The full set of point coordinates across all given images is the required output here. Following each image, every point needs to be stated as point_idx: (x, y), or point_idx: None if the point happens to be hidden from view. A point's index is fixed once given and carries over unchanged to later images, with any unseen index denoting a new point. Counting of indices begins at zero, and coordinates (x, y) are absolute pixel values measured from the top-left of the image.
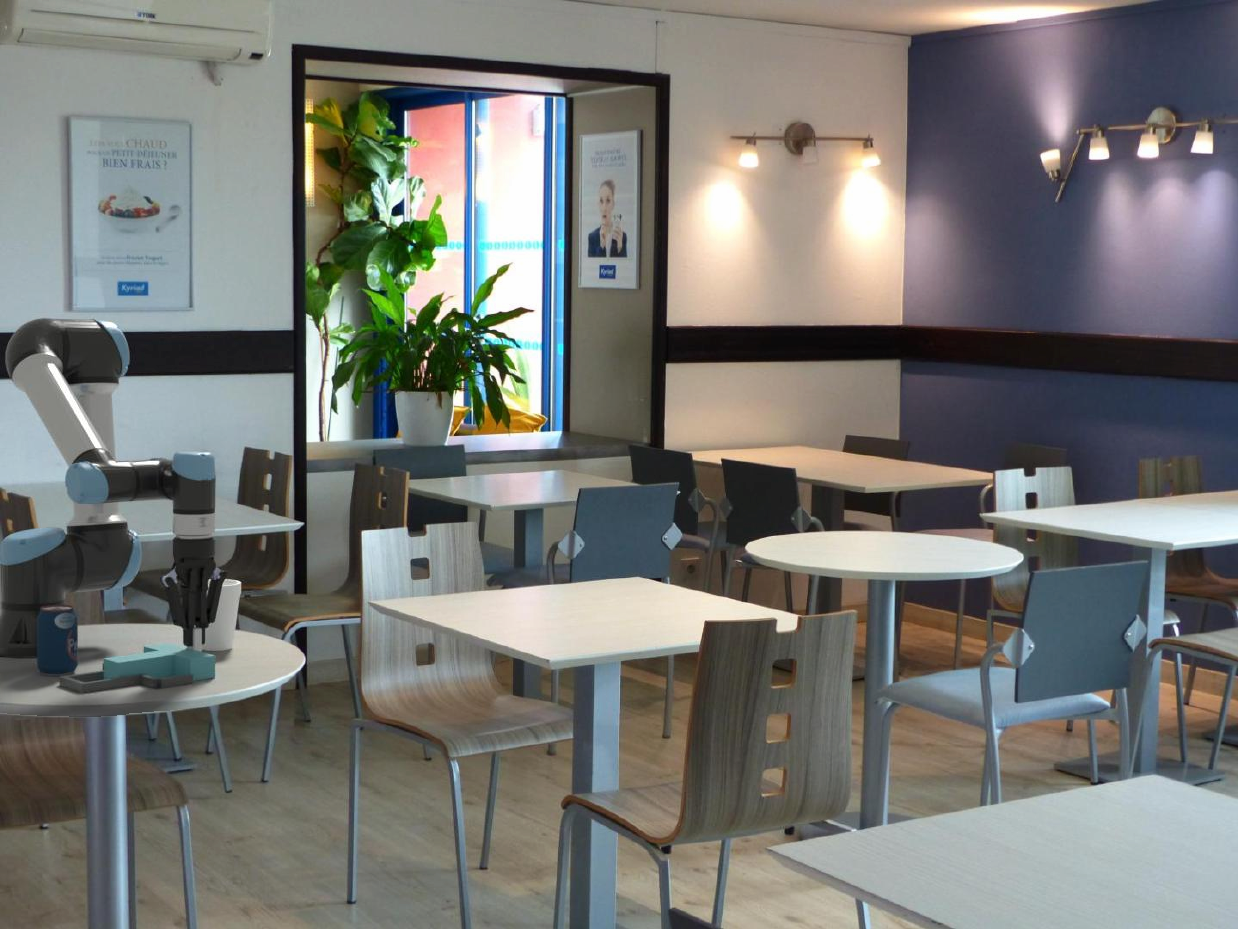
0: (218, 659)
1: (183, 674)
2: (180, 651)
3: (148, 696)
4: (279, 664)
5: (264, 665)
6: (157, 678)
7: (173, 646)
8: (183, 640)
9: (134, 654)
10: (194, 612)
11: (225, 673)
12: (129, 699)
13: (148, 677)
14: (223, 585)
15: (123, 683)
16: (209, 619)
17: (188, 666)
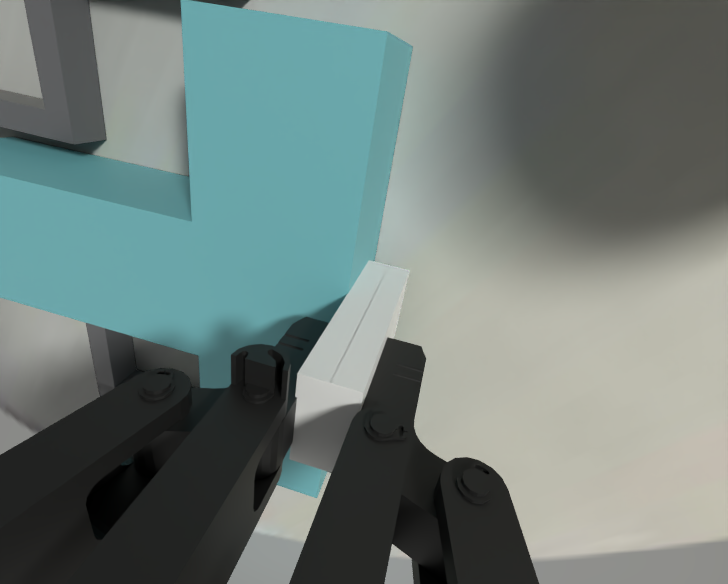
0: (713, 184)
1: None
2: (262, 331)
3: (74, 411)
4: (715, 495)
5: (659, 458)
6: (111, 382)
7: (326, 187)
8: (284, 336)
9: (46, 193)
10: (312, 523)
11: (424, 416)
12: (25, 393)
13: (93, 349)
14: None
15: None
16: (412, 560)
17: None
